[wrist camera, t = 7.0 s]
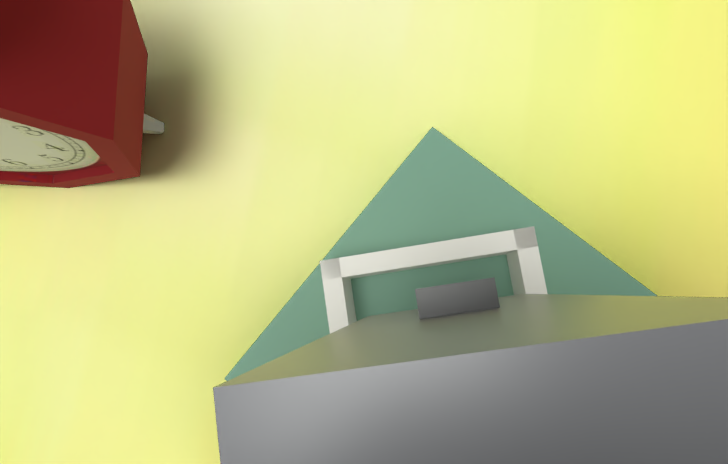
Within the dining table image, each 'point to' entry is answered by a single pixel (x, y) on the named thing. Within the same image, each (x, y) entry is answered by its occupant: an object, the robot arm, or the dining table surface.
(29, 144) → the alarm clock
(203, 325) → the dining table surface
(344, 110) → the dining table surface
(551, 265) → the header board
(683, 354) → the grey rectangular block
